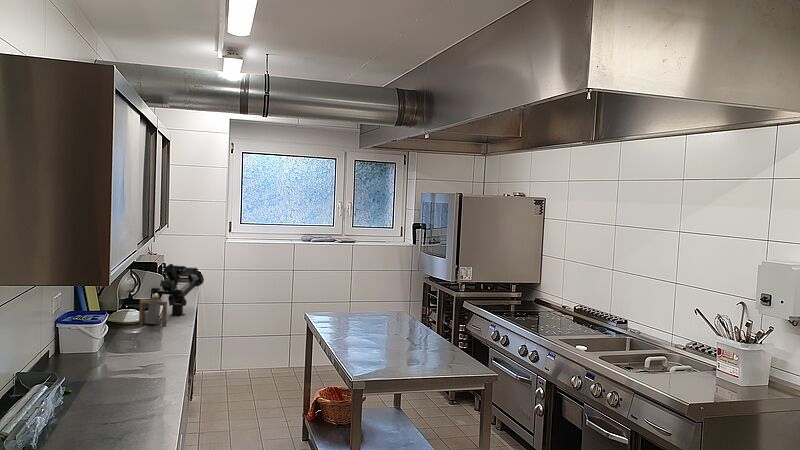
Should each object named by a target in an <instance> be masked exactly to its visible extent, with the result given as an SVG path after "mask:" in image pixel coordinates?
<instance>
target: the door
mask: <svg viewBox="0 0 800 450" xmlns="http://www.w3.org/2000/svg"><path fill="white" fill-rule="evenodd" d="M147 317H148V310H145V320H147ZM144 324H146V323H145V322H144Z"/></svg>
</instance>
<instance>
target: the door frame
mask: <svg viewBox="0 0 800 450" xmlns="http://www.w3.org/2000/svg"><path fill="white" fill-rule="evenodd" d="M146 304H148V305H149V304H157V305H160V306H162V314H161V315H162V316H161V317H162V318H161V327H162V328H163V327H164V328H166V327H167V318H168V317H167V316H168V315H167V314H168V313H167V312H168V311H167V310H168V301H162V300H161V301H154V300H150V299H142V298H141V299H139V308H138V309H139V310H138V311H139V312H138V313H139V314H138V317H139V318H138V324H139V325H145V323H144V322H145V311H146Z"/></svg>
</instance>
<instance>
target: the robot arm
mask: <svg viewBox="0 0 800 450" xmlns="http://www.w3.org/2000/svg"><path fill="white" fill-rule="evenodd" d="M163 273H164V274H165V276H166V278H167V279H168V280H160V284H159V287H152V288H151V290H150V293H151V294H152V295H153V294H155V293H157V294H158V295H159V297H158V298H160V299H161V296H162V295H167V296H168V306H169V307H172V308H171V314H169V316H170V315H171V316H172V317H181V315H182V316H185V315H186V313H184V306H185V307H186V306H187V303H188V302H187V299H186V298H185V297H186V296H187V295H188V294H189V293H190V292H191V291H192V290H193V289H194V288H195V287H200V286H202V285H203V283H204V281H205V277H204V275H203V273H202V272H200V271H199V269H198V267H196V266H195V267H194V266H193V267H191V266H190V267H187V266H185V265H178V264H177V265H176V264H175V265H174V264H173V263H169V264H168V265H166V266H165V267H163ZM187 274H188V276H187V279H188V281H187V283H186V284H184V285H183V286H182V287H181V288H180V289H178V284H179V283H180V282H182V278H181V277H180V276H185V275H187ZM160 287H161V289H162V290H161V289H160ZM171 316H170V317H171Z"/></svg>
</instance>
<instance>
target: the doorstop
mask: <svg viewBox="0 0 800 450" xmlns="http://www.w3.org/2000/svg"><path fill="white" fill-rule="evenodd" d="M158 297H159V295H158V294H157V293H155V294H152V297H150V298H149V300H154V301H162V298H161V297H160V298H158ZM147 311H148V317H147V320H145V323H144V324H149V325H161V324H162V319H160V313H161V305H157V304H148V310H147Z"/></svg>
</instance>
